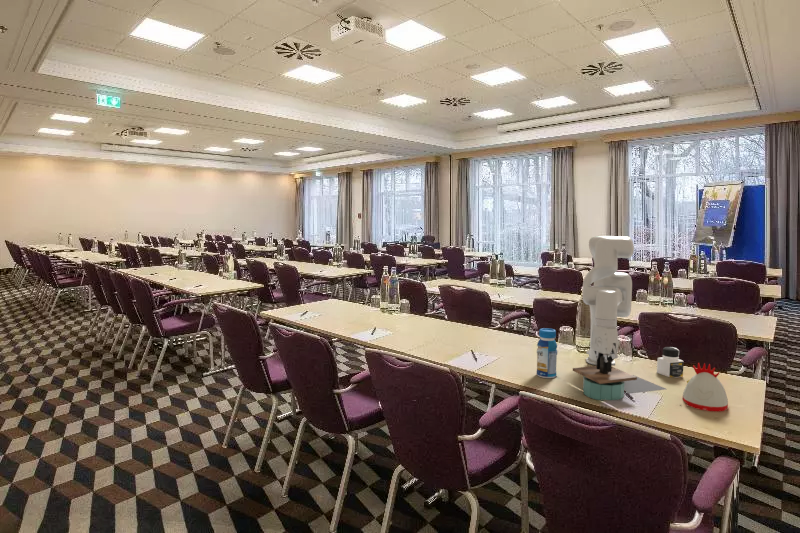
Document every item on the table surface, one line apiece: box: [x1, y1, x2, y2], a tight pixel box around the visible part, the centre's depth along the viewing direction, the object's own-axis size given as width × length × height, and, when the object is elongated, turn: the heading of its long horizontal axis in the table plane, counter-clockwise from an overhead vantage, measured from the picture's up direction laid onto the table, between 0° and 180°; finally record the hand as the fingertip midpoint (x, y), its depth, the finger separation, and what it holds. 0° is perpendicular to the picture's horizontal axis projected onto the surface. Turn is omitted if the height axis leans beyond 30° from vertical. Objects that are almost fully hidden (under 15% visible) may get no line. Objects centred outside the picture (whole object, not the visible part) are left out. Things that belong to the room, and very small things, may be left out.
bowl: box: [582, 375, 625, 402], centre depth 185 cm, size 14×14×6 cm
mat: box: [624, 374, 667, 394], centre depth 196 cm, size 18×18×1 cm
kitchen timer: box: [682, 362, 729, 412], centre depth 176 cm, size 14×14×15 cm
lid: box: [572, 356, 638, 384], centre depth 185 cm, size 16×16×7 cm
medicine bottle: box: [656, 346, 684, 379], centre depth 208 cm, size 7×7×12 cm
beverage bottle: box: [536, 327, 558, 379], centre depth 208 cm, size 8×8×20 cm
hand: (603, 370), depth 185 cm, fingers closed on lid, 3 cm apart
